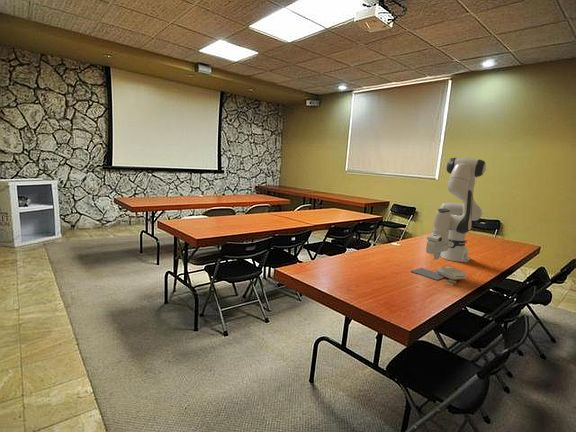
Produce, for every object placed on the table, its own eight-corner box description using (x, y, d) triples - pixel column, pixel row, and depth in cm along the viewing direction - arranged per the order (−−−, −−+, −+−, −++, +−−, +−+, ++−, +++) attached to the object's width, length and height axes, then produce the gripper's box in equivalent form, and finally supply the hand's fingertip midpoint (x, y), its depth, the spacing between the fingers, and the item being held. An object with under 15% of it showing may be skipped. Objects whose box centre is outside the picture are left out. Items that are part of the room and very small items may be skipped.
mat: (421, 268, 199) (421, 267, 199) (447, 276, 187) (447, 275, 187) (410, 271, 192) (410, 270, 192) (436, 280, 179) (437, 279, 179)
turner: (451, 277, 188) (451, 275, 188) (458, 278, 186) (458, 277, 185) (445, 284, 175) (445, 282, 175) (452, 286, 173) (453, 284, 173)
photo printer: (450, 265, 192) (468, 272, 181) (449, 272, 193) (467, 279, 181) (437, 266, 188) (454, 273, 177) (436, 274, 189) (453, 281, 178)
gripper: (443, 233, 198) (439, 255, 201) (425, 236, 186) (422, 260, 188) (453, 236, 193) (449, 258, 196) (436, 239, 181) (432, 263, 183)
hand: (436, 259), depth 192 cm, fingers closed
